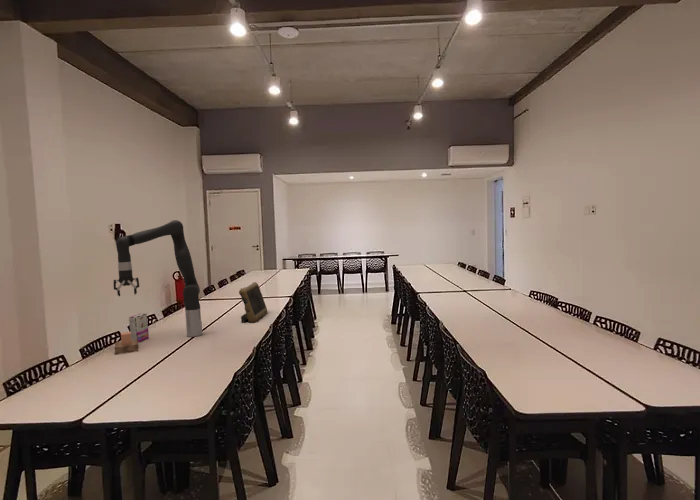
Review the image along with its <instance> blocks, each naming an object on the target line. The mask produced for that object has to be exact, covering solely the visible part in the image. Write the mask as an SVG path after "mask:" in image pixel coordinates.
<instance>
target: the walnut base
mask: <svg viewBox="0 0 700 500" xmlns="http://www.w3.org/2000/svg"><path fill="white" fill-rule="evenodd" d="M138 349H139V343H138V339H137V340H131V344H126V345H122V342H121V341H119V342H115V343H114V355H120V354H119V353H122V354H127V353H126V352H129V353H134V351H136V352H139V350H138Z"/></svg>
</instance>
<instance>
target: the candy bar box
mask: <svg viewBox="0 0 700 500" xmlns="http://www.w3.org/2000/svg"><path fill="white" fill-rule="evenodd" d="M128 323H129V332H131V340H137V339H138V342H139V343H141V342H143V341H145V339H146V340H148V339H149V338H150V336H149V326H148V325H149V324H148V315H147V312H141V313H138V314H134V315H132V316H129V317H128Z"/></svg>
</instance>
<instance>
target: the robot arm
mask: <svg viewBox="0 0 700 500" xmlns="http://www.w3.org/2000/svg"><path fill="white" fill-rule="evenodd" d="M166 236H170V237H171V239H172V242H173V248H174V249H173V250H174V258H175V262H176V265H177V268H178V270H179V272H180V274H181V275H182V278H183V282H184V288H183V292H182V293H183V294H182V296H183V306H184V313H185V327H186V337H188V338H193V337H194V338H195V337H200V336H203V322H202V317H201V316H202V315H201V312H202V311H201V304H200V300H199V299H200V298H199V295H200V293H201V289H200V286H199V283H198V281H197V278H196V277H197V276H196V275H195V270H194V269H195V268H194V264H193V259H192V255H191V252H190V249H189V247H188V245H187V242H186V238H185V232H184V224H183V223H182V222H181V221H180V220H178V219H176V220H170V222H167V223H165V224H163V225H161V226H157V227H155V228H150V229H146V230H142V231H139V232H135V233H133V234H129V235H125V236H121V237H118V238H117V239H116V241H115V247H116V252H117V265H118V266H117V269H118V279H113V290H116V291H117V292H116V293H117V296H118V297H121V288H122V286H123V287H126V286H132V287H133V293H134V294H133V295H134V296H136V294H137V292H138V291H137V289H138V288H139V287H140V282H139V281H140V280H139V277H135V278H134V277H133V264H132V259H131V257H132V256H131V252H130V247H132V246H135V245H140V244H144V243H147V242H150V241H153V240H155V239H158V238H162V237H166ZM134 281H135V282H136V285H135V284H134V283H133V282H134ZM118 282H119V285H118V287H117V284H118Z"/></svg>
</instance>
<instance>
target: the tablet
mask: <svg viewBox="0 0 700 500" xmlns="http://www.w3.org/2000/svg"><path fill="white" fill-rule="evenodd" d="M238 294H239V295H240V297H241V300H242V302H243V304H244V312H245V313H244V314H242V315H241V317H240V319H241V320H240V321H241V323H242V324H244V323H246V320H248V321H247V322H249V324H255V323H257V322H258V321H259V320H261V318H262V317H264V316H265V315H266V314H267V313H268V309H267V305H266V302H265V299H264V297H263V294H262V291H261V288H260V285H259V284H258V282H257V281H254V282H252V283H251V284H249V285H248V286H246V287H243V288H240V289H239V292H238Z"/></svg>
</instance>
